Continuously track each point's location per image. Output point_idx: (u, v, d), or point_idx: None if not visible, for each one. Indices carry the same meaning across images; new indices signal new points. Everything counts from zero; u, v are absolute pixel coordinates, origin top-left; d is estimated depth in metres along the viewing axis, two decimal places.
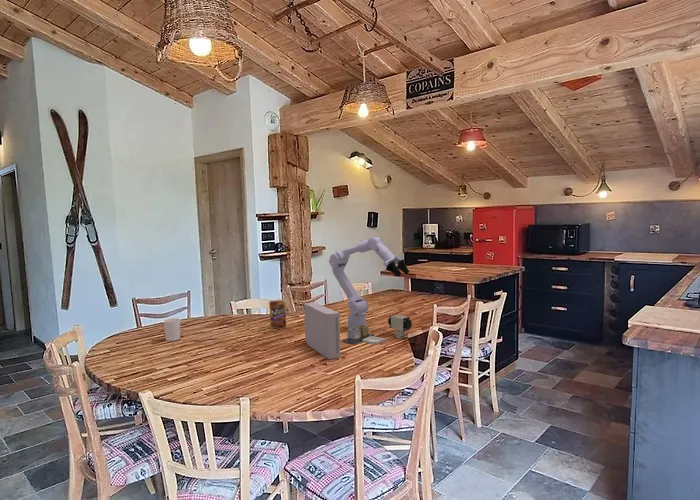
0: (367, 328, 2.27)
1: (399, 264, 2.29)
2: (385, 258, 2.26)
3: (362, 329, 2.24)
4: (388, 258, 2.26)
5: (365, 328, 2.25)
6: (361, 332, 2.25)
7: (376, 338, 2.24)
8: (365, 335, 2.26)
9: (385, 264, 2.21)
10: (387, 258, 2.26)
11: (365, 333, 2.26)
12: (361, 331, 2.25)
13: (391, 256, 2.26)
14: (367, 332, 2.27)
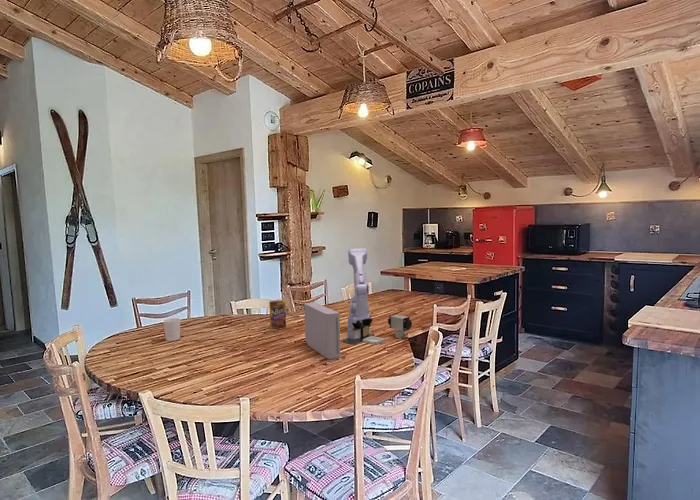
0: (367, 328, 2.27)
1: (365, 320, 2.29)
2: (358, 312, 2.24)
3: (362, 329, 2.24)
4: (360, 314, 2.24)
5: (365, 328, 2.25)
6: (361, 332, 2.25)
7: (376, 338, 2.24)
8: (365, 335, 2.26)
9: (353, 321, 2.21)
10: (360, 314, 2.24)
11: (365, 333, 2.26)
12: (361, 331, 2.25)
13: (364, 315, 2.24)
14: (367, 332, 2.27)
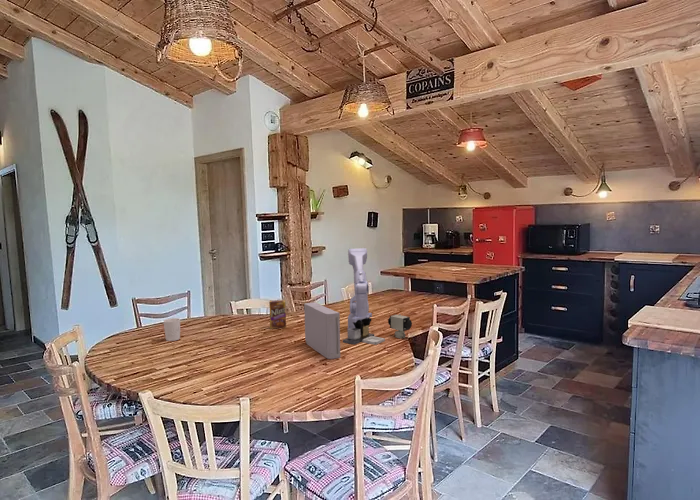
0: (367, 327, 2.27)
1: (365, 320, 2.29)
2: (358, 311, 2.24)
3: (362, 328, 2.24)
4: (360, 314, 2.24)
5: (365, 327, 2.25)
6: None
7: (376, 338, 2.24)
8: (365, 334, 2.26)
9: (353, 320, 2.21)
10: (359, 313, 2.24)
11: (365, 332, 2.26)
12: None
13: (364, 314, 2.24)
14: (367, 331, 2.27)
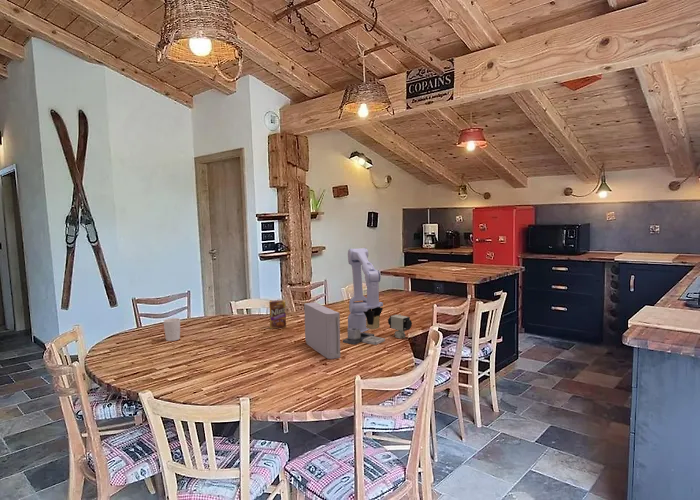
0: (378, 318, 2.20)
1: (375, 309, 2.22)
2: (369, 300, 2.17)
3: (373, 319, 2.17)
4: (371, 303, 2.17)
5: (376, 318, 2.19)
6: None
7: (376, 338, 2.24)
8: (376, 325, 2.19)
9: (364, 309, 2.14)
10: (370, 302, 2.17)
11: (376, 322, 2.19)
12: None
13: (375, 303, 2.17)
14: (378, 322, 2.20)
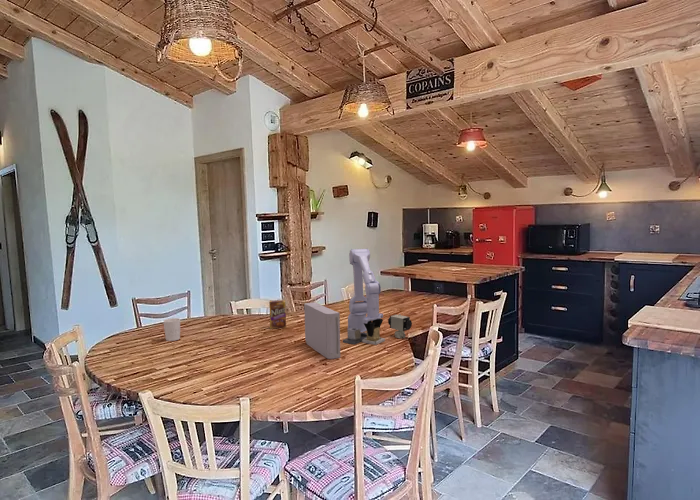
0: (378, 329, 2.20)
1: (376, 321, 2.22)
2: (369, 312, 2.18)
3: (373, 330, 2.18)
4: (371, 314, 2.17)
5: (376, 329, 2.19)
6: None
7: None
8: (376, 336, 2.19)
9: (364, 321, 2.14)
10: (371, 314, 2.17)
11: (376, 334, 2.19)
12: None
13: (375, 315, 2.17)
14: (378, 333, 2.21)
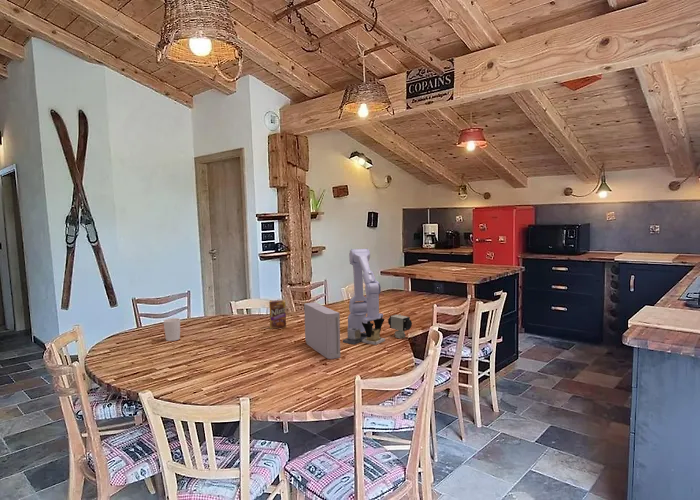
0: (378, 331, 2.20)
1: (377, 320, 2.23)
2: (369, 312, 2.18)
3: (373, 332, 2.18)
4: (371, 314, 2.17)
5: (376, 331, 2.19)
6: (372, 335, 2.18)
7: None
8: (376, 338, 2.19)
9: (364, 321, 2.14)
10: (371, 314, 2.17)
11: (376, 336, 2.19)
12: (372, 334, 2.18)
13: (375, 315, 2.17)
14: (378, 335, 2.21)
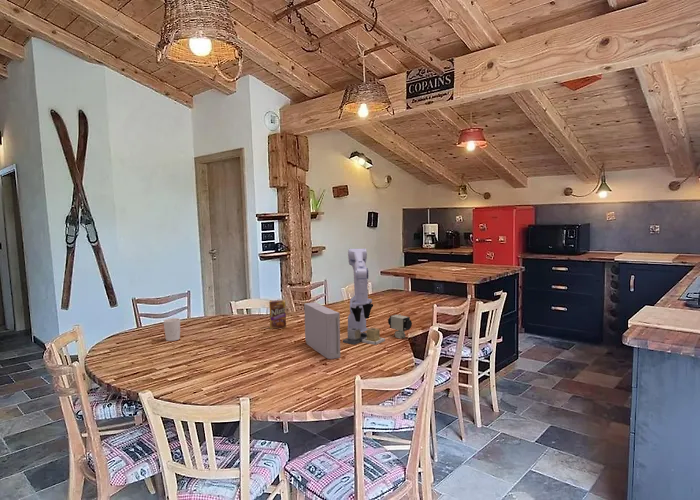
0: (378, 331, 2.20)
1: (366, 305, 2.27)
2: (358, 297, 2.21)
3: (373, 332, 2.18)
4: (360, 299, 2.21)
5: (376, 331, 2.19)
6: (372, 335, 2.18)
7: None
8: (376, 338, 2.19)
9: (353, 306, 2.18)
10: (359, 299, 2.21)
11: (376, 336, 2.19)
12: (372, 334, 2.18)
13: (364, 300, 2.21)
14: (378, 335, 2.21)
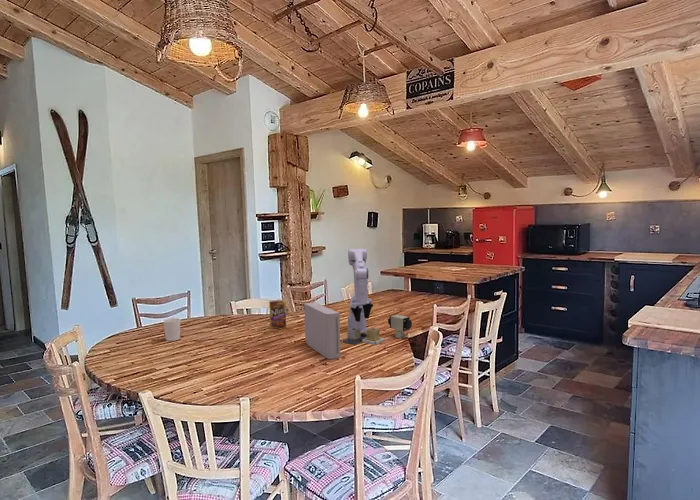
0: (378, 331, 2.20)
1: (366, 305, 2.27)
2: (358, 297, 2.21)
3: (373, 332, 2.18)
4: (360, 299, 2.21)
5: (376, 331, 2.19)
6: (372, 335, 2.18)
7: None
8: (376, 338, 2.19)
9: (353, 306, 2.18)
10: (359, 299, 2.21)
11: (376, 336, 2.19)
12: (372, 334, 2.18)
13: (364, 300, 2.21)
14: (378, 335, 2.21)
